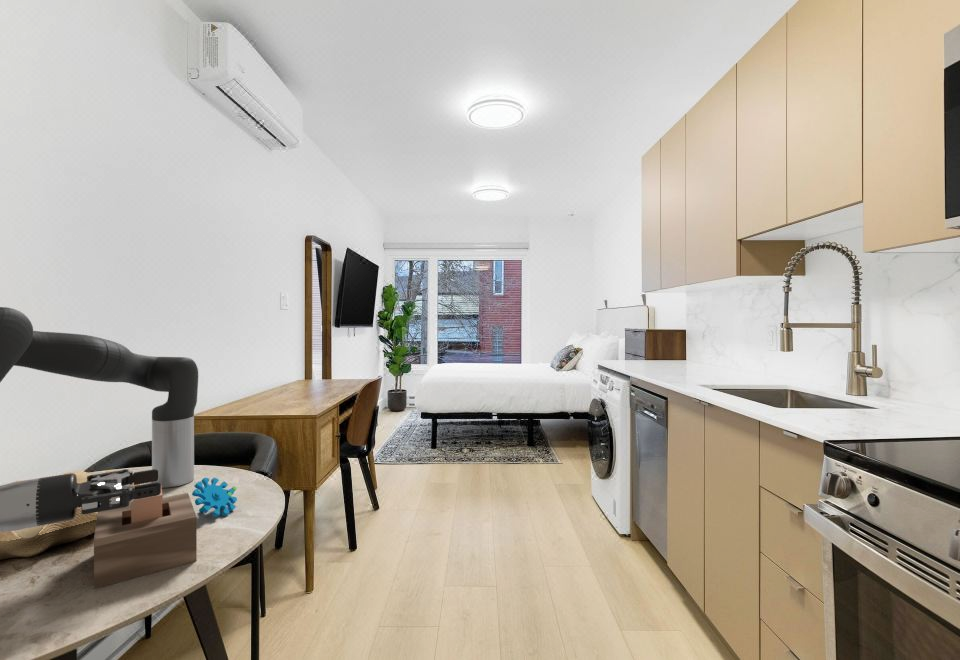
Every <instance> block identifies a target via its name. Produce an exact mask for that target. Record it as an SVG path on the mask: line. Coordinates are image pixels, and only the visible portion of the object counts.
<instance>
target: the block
mask: <svg viewBox="0 0 960 660" xmlns="http://www.w3.org/2000/svg"><path fill="white" fill-rule="evenodd" d="M162 489H163V488H161V493H160V494H159V495H157V496H152V497H147V498H141V499H136V500H134V501H133V502H131V503H130V504H131V524H132V523H137V522H141V521H146V520H151V519H155V518H160V517H162V498H163V490H162Z"/></svg>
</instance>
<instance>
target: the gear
mask: <svg viewBox="0 0 960 660" xmlns="http://www.w3.org/2000/svg"><path fill="white" fill-rule="evenodd" d="M219 481H220V480H219V479H218V478H217V477H213V478H212V479H211V480H210V477H209V478H208V477H204V478H202V480H201V481H198V482H196V483H195V484H194V488H195V489H194V490H193V491H192V493H191V495H192V497H197V498H195V500H194V503H195V506H200V505H202V506H201V507H200V508H199V509H198V512H199V513H201V514H202V513H204V514H207V513H208V512H209V511H210V510H211V509H214V510H213V511H212V512H211V515H212V516H213V517H215V518H216V517H218V516H220V515H221V516H224V517H226V516H228V515H229V514H230V512H232V511H233V510H234V509H236V505H235V503H236V502H237V501H238V497H236V496H232V495H234V493H235V492H236V490H237V487H236V485H235V486H232V487H230V488H228V489H227V487H228V485H229V484H228V483H227V482H226V481H222V482H221V483H220V484H219V485H217V483H218V482H219ZM209 482H210V484H209ZM220 509H222V512H221V511H220ZM220 513H221V514H220ZM225 515H226V516H225Z"/></svg>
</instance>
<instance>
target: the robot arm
mask: <svg viewBox="0 0 960 660" xmlns="http://www.w3.org/2000/svg"><path fill="white" fill-rule="evenodd" d="M33 327H34V326H33V324H32V321H31V320H30V319H29V318H28V316H26V314H25V313H23V312H21V311H20V310H17V309H15V308H11V307H7V306H6V307H5V306H4V307H3V306H0V383H1V382H2V381H3V380H4V378H6V376H7V374H8V373H9V372H10V371H11V369H12V368H13V367H15V366H16V367H23V368H26V369H27V368H28V369H33V370H37V371H42V372H46V373H51V374H55V375H56V374H57V375H62V376H66V377H72V378H77V379H81V380H82V379H83V380H89V381H97V382H105V383H127V384H130V385H135V386H138V387H141V388H145V389H148V390H151V391H155V392H162V393H163V392H164V393H168V394H167V400H166V402H165V403H163V404H160V405H158V406H155V407H154V408H152V410H151V469H147V470H146V469H145V470H141V471H135V472H134V471H130V470H129V469H125V468H124V469H120V470H115V471H108V472H102V473H95V474H89V475H87V476H86V481H84V482H81V483H80V482H79V483H78V477H77V475H76V474H75V473H72V472H71V473H65V474H59V475H58V474H57V475H52V476H44V477H40V478H31V479H24V480H19V481H13V482H10V483H6V484H0V533H5V532H16V531H21V530H26V529H31V528H36V527H40V526H46V525H51V524H57V523H61V522H67V521H72V520H73V519H75V517H76V516H77V510H78V508H79V509H80V508H81V515H88V514H93V513H98V512H100V511H106V510H112V509H117V508H124V507H127V506H129V504H131V502H133V501H134V500H136V499H141V498H147V497H152V496H157V495H159V494H160V493H161V488H162V489H164V488H173V487H178V486H183V485H187V484H189V483H190V482H193V480H194V479H195V426H194V425H195V409H196V406H197V402H198V392H199V390H198V389H199V368H198V365H197V363H196V361H194V359H192V358H190V357H186V356H185V357H184V356H183V357H180V356H149V355H144V354H143V355H142V354H138V353H134V352H132V351H131V350H130V349H129V348H127V347H126V346H125V345H123V344H120V342H119V343H118V342H115V341H113V340H110V339H105V338H102V337H97V336H92V335H87V334H79V333H68V332H67V333H66V332H53V331H52V332H51V331H37V330H34V328H33Z"/></svg>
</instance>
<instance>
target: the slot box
mask: <svg viewBox="0 0 960 660" xmlns="http://www.w3.org/2000/svg"><path fill="white" fill-rule="evenodd" d="M96 513H97V516H96V522H95V527H94V528H95V529H94V536H93V537H94V538H93V589H94V590H95V589H98V588H103V587H105V586H109V585H113V584H117V583H120V582H124V581H127V580H131V579H135V578H139V577H142V576H146V575H149V574H154V573H157V572H160V571H165V570H168V569H171V568H172V569H173V568H175V567H179V566H182V565H186V564H190V563H194V562H197V558H198V557H197V556H198V555H197V550H198V549H197V547H198V546H197V536H198V534H197V533H198V532H197V531H198V530H197V518H198V517H197V514H196V512H195V508H194V505H193V503H192V500H191V498H190V495H189V492H185V493H181V494H174V495H168V496H165V497H163V496H162V517H160V518H155V519H151V520H146V521H141V522H137V523H132V524H131V503H129V506H127V507H124V508H117V509H112V510H106V511H100V512H96Z"/></svg>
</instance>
